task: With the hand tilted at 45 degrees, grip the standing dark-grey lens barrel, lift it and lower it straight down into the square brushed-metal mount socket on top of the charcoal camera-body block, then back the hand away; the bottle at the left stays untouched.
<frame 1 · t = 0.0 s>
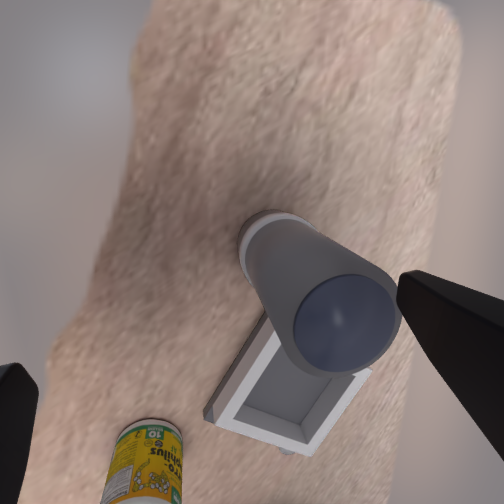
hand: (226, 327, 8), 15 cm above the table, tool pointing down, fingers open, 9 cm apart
camera body mount: (284, 372, 27), on the table
supplement bottle: (150, 440, 27), on the table
lens: (270, 243, 24), on the table
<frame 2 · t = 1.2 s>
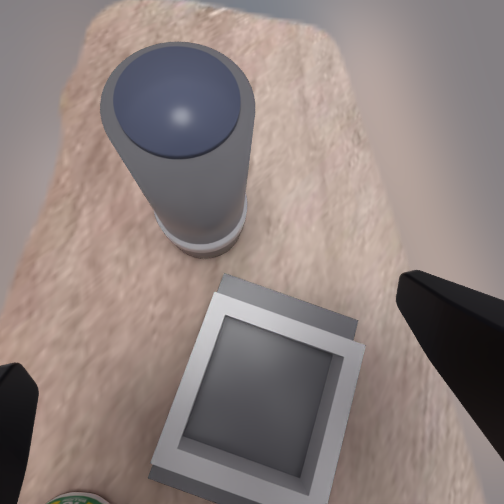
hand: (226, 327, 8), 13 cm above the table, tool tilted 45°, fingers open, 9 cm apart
camera body mount: (259, 390, 20), on the table
lens: (205, 223, 22), on the table
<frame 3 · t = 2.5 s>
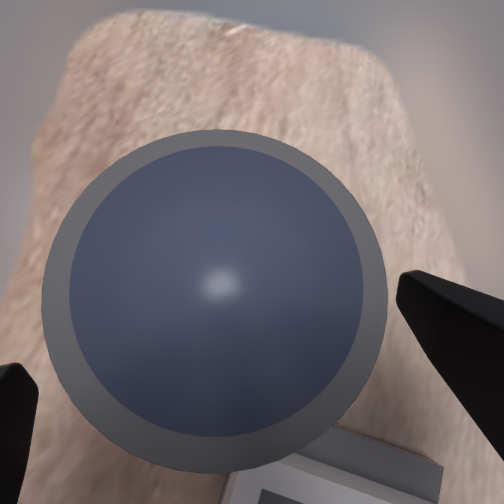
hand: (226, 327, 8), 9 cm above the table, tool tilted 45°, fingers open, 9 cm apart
lens: (225, 318, 16), on the table
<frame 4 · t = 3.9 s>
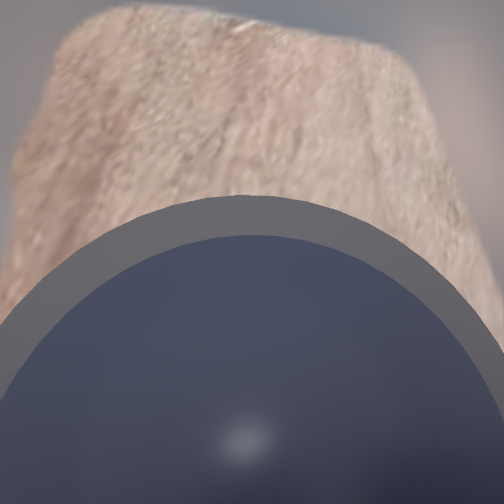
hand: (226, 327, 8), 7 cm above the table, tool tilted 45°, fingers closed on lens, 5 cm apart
lens: (234, 360, 14), on the table, touching gripper
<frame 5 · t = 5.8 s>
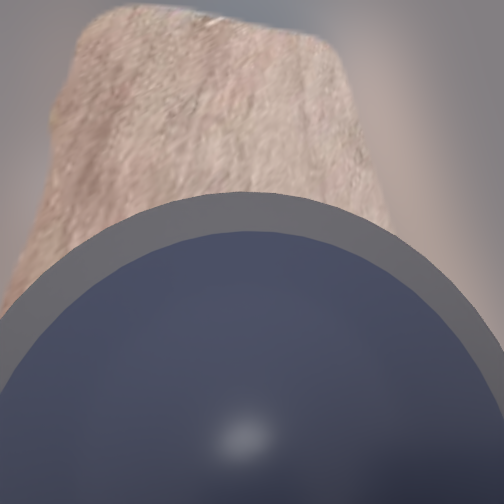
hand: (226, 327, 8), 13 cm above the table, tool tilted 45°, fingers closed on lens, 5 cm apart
lens: (233, 359, 14), point 6 cm above the table, touching gripper
when the fingers open (8 cm above the table, at t = 7.9 s): lens stays where it is, resting on camera body mount.
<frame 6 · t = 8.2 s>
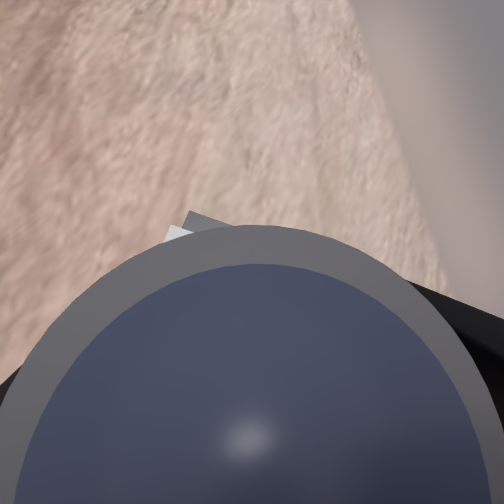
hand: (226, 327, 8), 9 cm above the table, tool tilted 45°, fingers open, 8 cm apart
camera body mount: (233, 357, 16), on the table
lens: (232, 361, 15), point 1 cm above the table, touching camera body mount
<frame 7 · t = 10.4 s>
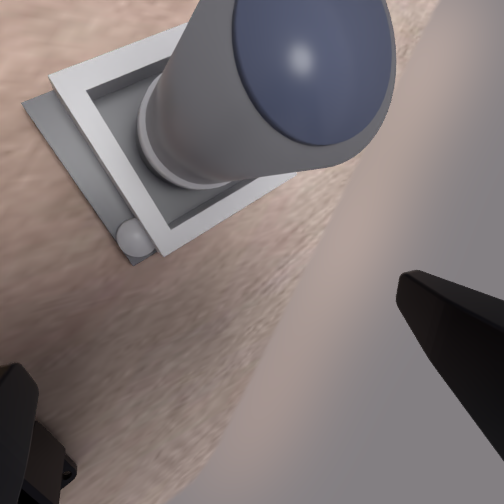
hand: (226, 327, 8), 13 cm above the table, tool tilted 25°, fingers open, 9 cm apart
camera body mount: (180, 143, 19), on the table
lens: (183, 141, 18), point 1 cm above the table, touching camera body mount
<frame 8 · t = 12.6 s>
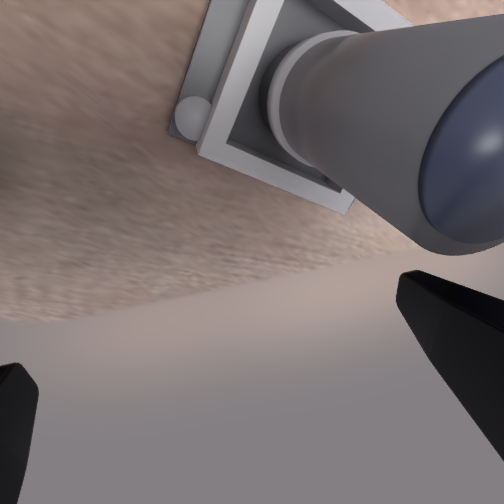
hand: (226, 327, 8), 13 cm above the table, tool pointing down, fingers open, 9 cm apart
camera body mount: (300, 96, 18), on the table
lens: (305, 97, 17), point 1 cm above the table, touching camera body mount
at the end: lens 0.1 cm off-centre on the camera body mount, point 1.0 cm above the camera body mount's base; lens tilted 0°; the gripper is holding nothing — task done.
